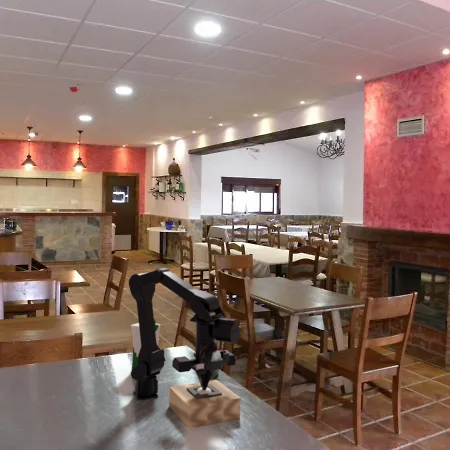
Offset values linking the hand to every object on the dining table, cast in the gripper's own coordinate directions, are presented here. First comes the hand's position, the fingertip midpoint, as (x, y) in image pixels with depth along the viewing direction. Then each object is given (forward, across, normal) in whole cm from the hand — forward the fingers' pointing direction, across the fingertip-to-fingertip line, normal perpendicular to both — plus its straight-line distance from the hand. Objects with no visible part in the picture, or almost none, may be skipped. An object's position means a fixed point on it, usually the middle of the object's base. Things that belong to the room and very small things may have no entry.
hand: (204, 389), depth 145 cm
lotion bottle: (+7, +14, +25) cm, 29 cm away
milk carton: (+7, -6, +39) cm, 40 cm away
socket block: (+7, 0, 0) cm, 7 cm away
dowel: (+6, 0, 0) cm, 6 cm away
